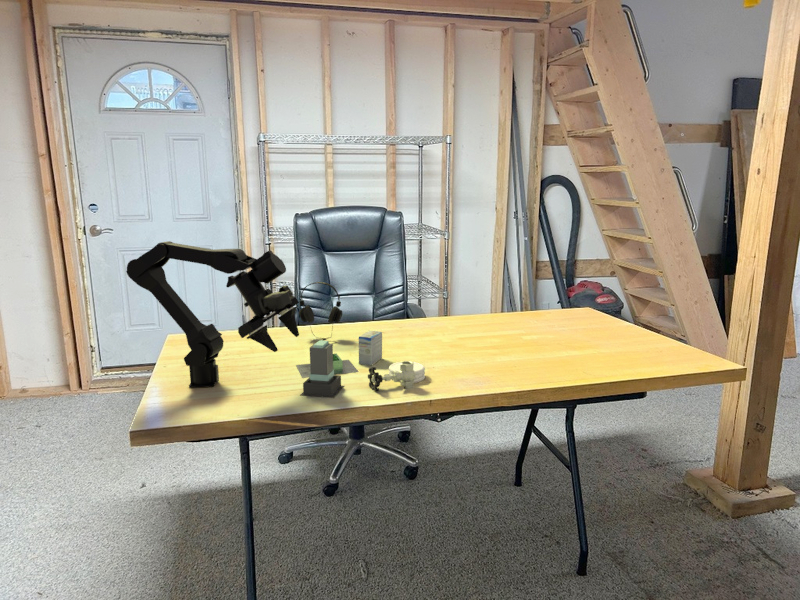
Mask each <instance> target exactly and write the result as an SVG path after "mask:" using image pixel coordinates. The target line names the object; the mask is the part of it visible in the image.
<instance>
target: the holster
mask: <svg viewBox="0 0 800 600" xmlns="http://www.w3.org/2000/svg"><path fill="white" fill-rule="evenodd" d="M344 387H345V385H342V376H341V375H340V374H335V375H334V381H333V382H332V383H331V384H318V383H311V380H310V377H308V378H306V380H305V381H303V382H302V389H303V391H302V392H301V393H300V394H299V396H303V397H313V398H325V399H327V398H328V399H335V397H336V396H338V394H339V393H340V392H341V391H342V390H343V388H344Z"/></svg>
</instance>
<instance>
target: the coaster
mask: <svg viewBox="0 0 800 600" xmlns="http://www.w3.org/2000/svg"><path fill="white" fill-rule="evenodd" d="M401 362H402V361H397V362H394V363H391V364H390V365H389V367H388V374H390V375H391V374H392V373H393V371H398V372H399V371H400V364H401ZM413 362H414V368H413V370H414V372H415V378H414V384H417V383H420V382H422V381H424V380H425V378H426V376H425V374H426V367H425V366H424V365H423V364H422V363H419V362H415V361H413ZM400 381H401V380H400ZM400 381H399V382H400Z"/></svg>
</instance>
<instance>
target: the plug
mask: <svg viewBox="0 0 800 600" xmlns="http://www.w3.org/2000/svg"><path fill="white" fill-rule="evenodd" d="M329 342H330V340H323V339H321V340H320V339H319V340H318V341H317V342H315V343H313V344H312V345H311V346H309V364H310V372H311V374H310V377H309V378H310V380H311V383H318V384H331V383H332V382H333V381H334V370H333V354H334V346H333V345H334V344H331V343H329Z"/></svg>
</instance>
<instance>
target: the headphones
mask: <svg viewBox="0 0 800 600" xmlns="http://www.w3.org/2000/svg"><path fill="white" fill-rule="evenodd" d="M315 284H321V285H326V286H328V287H330V288H332V289H333V291H334V292H335V293H336V296H337V301H336V304H335V306H333V307H332V309H331V310H330V313H329V315H328V320H327V321H328V323H329V324H334V323H335V324H338V323H339V322H341V319H342V316H343V310H341V309H340V307H341V305H342V304H341V303H342V302H341V301H340V299H341V294H339V292H338V291H337V290H336V288H335V286H333V285H332V284H330V283H328V282H324V281H322V282H321V281H316V282H311V283H308V284H307V285H306V286H304V288H303V289H302V290H301V293H300V298H299V299H300V300H298V302H299V306H302V308H300V309H299V312H298V314H299V318H300V321H302V322H303V323H306V322H308V324H309V326H310V328H312V327H311V326H312V325H310V323H313V322H314V321H315V314H314V311H313V309H312V307H311V306H310V305H307V304H306V305H305V300H303V293H304V292H305V290H306V289H307V287H308V286H311V285H315ZM331 326H332V328H331V330H333V329H334V325H331ZM311 333H312V335H313V336H314V337H315V338H317V339H318V337H317V336H315V334H314V333H313V331H312V329H311ZM332 336H333V333H331V335H330V337H332ZM327 339H328V337H326V338H324V337H322V338H321V340H324V341H326V340H327ZM336 343H338V342H337V341H336V340H333V343H330V344H333V345H334V344H336Z"/></svg>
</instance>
